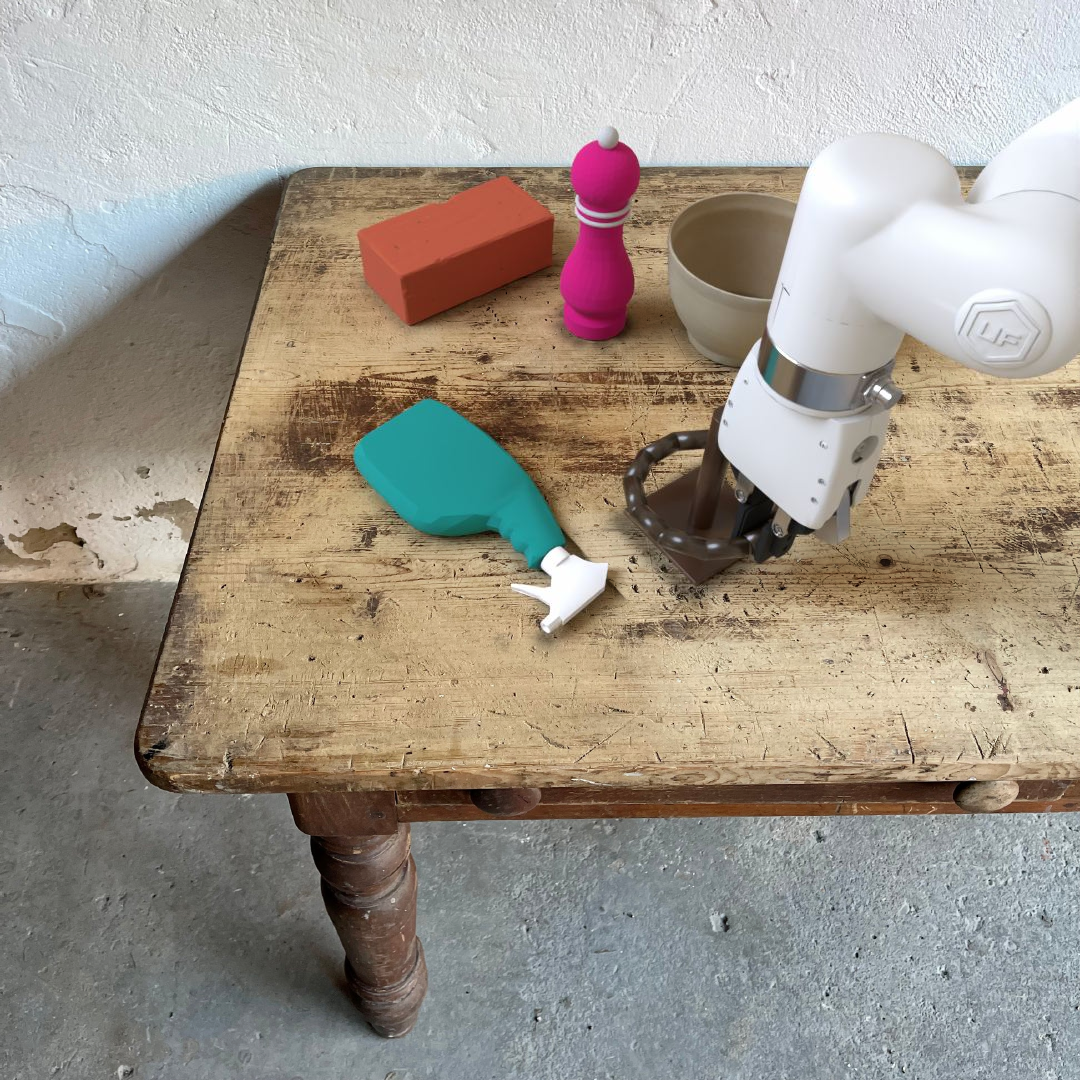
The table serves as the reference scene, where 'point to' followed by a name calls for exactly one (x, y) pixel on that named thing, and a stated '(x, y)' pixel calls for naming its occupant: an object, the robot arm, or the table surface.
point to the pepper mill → (600, 239)
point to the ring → (660, 528)
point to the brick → (456, 248)
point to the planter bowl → (727, 269)
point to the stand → (698, 507)
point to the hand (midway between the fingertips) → (759, 541)
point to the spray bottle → (474, 498)
